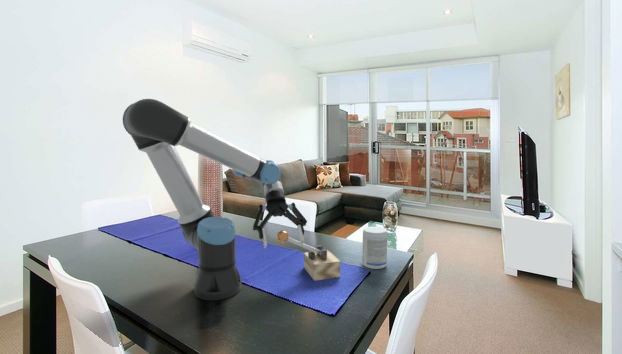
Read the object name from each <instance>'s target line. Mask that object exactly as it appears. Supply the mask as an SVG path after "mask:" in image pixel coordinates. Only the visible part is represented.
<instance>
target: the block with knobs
mask: <svg viewBox="0 0 622 354" xmlns="http://www.w3.org/2000/svg"><path fill="white" fill-rule="evenodd" d="M316 249H318V250H319V249H322V250H321V256H320V255H319V254H318V253H315V252H313V251H310V250H308V251H306V252H304V253H303V268H304V270H305V271H306V272H307V273H308V275H309V276H310V277H311V279H312V280H313V281H314V282H317V281H322V280H329V279H335V277H336V278H340V277H341V260H340V259H339V258H337V256H335V255H334V253H332V252H331V251H330V250H328V249H326V248H325V249H323V245H322V244H319V245H316Z"/></svg>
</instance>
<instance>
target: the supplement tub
mask: <svg viewBox="0 0 622 354" xmlns="http://www.w3.org/2000/svg"><path fill="white" fill-rule="evenodd" d="M387 260H388V230H387V229H386V228H385V227H381V226H366V227H364V228H363V230H362V265H363V266H364V267H366V268H368V269H371V270H381V269H384V268H386V266H387V262H388V261H387Z"/></svg>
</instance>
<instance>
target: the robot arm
mask: <svg viewBox="0 0 622 354" xmlns="http://www.w3.org/2000/svg"><path fill="white" fill-rule="evenodd" d="M122 124H123V127H124V129H125V131H126V132H127V133H128V134H129V135H130V137H131V138H132V140H133V142H134V143H135V145H136V148H137V149H138V150H139V151H141V152H143V153H145V154H146V155H147V156H148V159H149V161H150V162H151V164H152V166H153V168H154V170H155V171H156V174H157V175H158V177H159V179H160V181H161V183H162V184H163V187H164V188H165V190H166V192H167V194H168V195H169V197H170V200H171V201H172V203H173V205H174V206H175V209H176V210H177V212H178V215H179V217H178V219H177V222H178V224H179V227H180V228H181V231H182V235H183V238H184V240H186V242H187V243H188V244H190V245H192V247H194V248H195V249H196V251H197V252H198V267H199V268H198V272H197V275H196V279H195V282H194V285H193V288H194V289H193V292H194V295H195V297H196V298H197V299H200V300H204V301H221V300H224V299H225V300H226V299H228V298H231V297H233V296H235V295H237V294H238V293H239V292H240V291H241V290H242V288H243V287H242V279H241V276H240V273H239V270H238V268H237V266H236V265H237V264H236V263H237V262H236V261H237V260H236V229H235V223H234V222H233V220H231V219H230V218H228V217H223V216H215V214H214V212H213V211H212V209H211V207H210V205H207V204H204V202H203V200H202V199H201V196H200V194H199V192H198V190H197V188H196V187H195V184H194V182H193V180H192V178H191V176H190V174H189V172H188V170H187V168H186V166H185V164H184V162H183V160H182V158H181V155H179V154H180V153H179V152H178V150H177V148H176V147H177V146H181V147H183V148H185V149H188V150H189V151H192V152H194V153H196V154H199V155H201V156H203V157H205V158H207V159H209V160H212V161H214V162H215V163H218V164H221V165H223V166H225V167H227V168H229V169H231V170H232V171H233V174H234V176H236V177H239V178H243V179H246V180H249V181H253V182H254V181H255V182H257V183H261V184H262V186H263V193H264V196H265V203H266V204H265V205H262V204H259V205H258V206H259V207H258V213H257V216H256V218H255V220H254V223H253V227H252V231H256V232H257V233H258V239H260V240H262V244H263V249H267V248H268V247H267V246H268V242H267V236H266V229H265V226H266V225H267V224H268V222H269V221H270V219H271V218H272V217H274V218H275V217H276V218H277V217H283V216H284V218H287V219H288V220H289V221H291V223H292V224H294V225H295V226H297V227H296V230H297V235H298V239H299V240H298V241H299V242H300V244H303V243H305V238H304V234H305V228H304V227H305V226H306V225H307V223H308V220H307V219H306V218H305V217H304V215H303V214H302V213H301V212H300V210H299V209H298V208H297V206H296V204H295V202H291V203H290V204H288V203H287V200H286V195H285V191H284V187H283V182H282V175H281V172H282V171H281V169H280V166H279V164H278V163H277V162H276V161H275V160H271V159H270V160H267V159H266V160H265V159H263V158H261V157H258V156H257V155H255V154H253V153H251V152H249V151H247V150H245V149H244V148H241V147H240V146H237V145H236V144H234V143H232V142H231V141H228V140H226V139H224V138H222V137H220V136H218V135H216V134H214V133H213V132H210V131H209V130H206V129H205V128H203V127H201V126H199V125H197V124H195V123H193V122H191V119H190V117H188V116H187V115H185V114H183V113H181V112H179V111H178V110H176V109H174V108H172V107H171V106H170V105H167V104H166V103H165V102H162V101H159V100H158V99H153V98H143V99H142V98H141V99H139V100H137V101H135V102H134V103H130V105H129V106H128V107H126V108H125V110H124V112H123V115H122ZM265 211H267V212H268V213H267V214H266V216H264V219H263V220H262V221H261V217H262V215H263V213H264V212H265ZM290 211H291V212H290ZM260 221H261V222H260ZM259 223H260V224H259Z"/></svg>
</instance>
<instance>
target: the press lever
mask: <svg viewBox="0 0 622 354" xmlns="http://www.w3.org/2000/svg"><path fill="white" fill-rule="evenodd" d="M276 240H277V242H279V243H280V244H284V243H287V242H289V243H291V244H294V245H296V246H299V247H301V248H304V249H305V250H308V251H313V252H315V253H318V254H319V255H320V256H321V250H323V248H322V249H319V250H318V249H317V247H314V246H311V245H309V244H306V243H305V242H303V244H300V240H297V239H294V238H292V237H290V236H289V233H288V231H286V230H280V231H278V232H277V233H276Z"/></svg>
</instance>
